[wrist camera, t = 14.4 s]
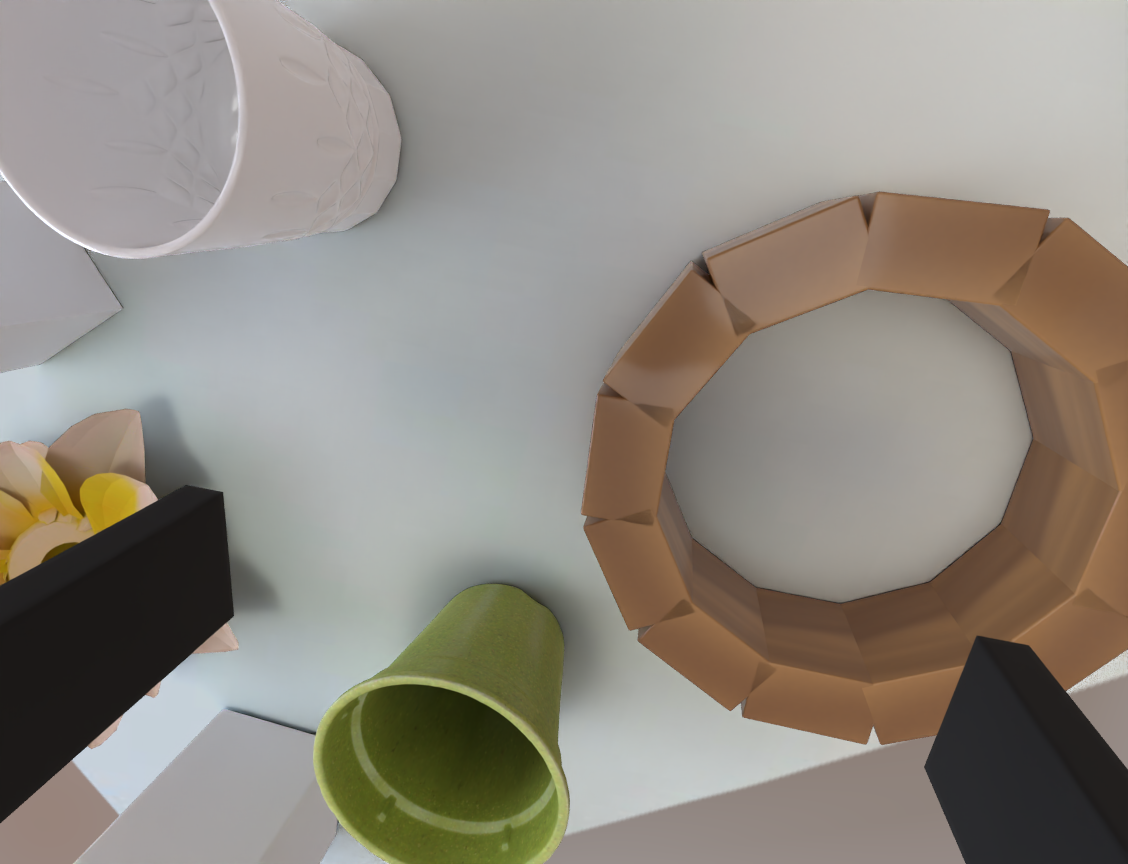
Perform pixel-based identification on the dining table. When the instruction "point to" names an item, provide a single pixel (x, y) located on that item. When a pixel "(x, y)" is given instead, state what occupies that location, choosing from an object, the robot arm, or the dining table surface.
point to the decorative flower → (76, 499)
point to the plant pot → (455, 740)
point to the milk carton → (227, 803)
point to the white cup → (188, 124)
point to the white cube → (44, 288)
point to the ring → (973, 582)
